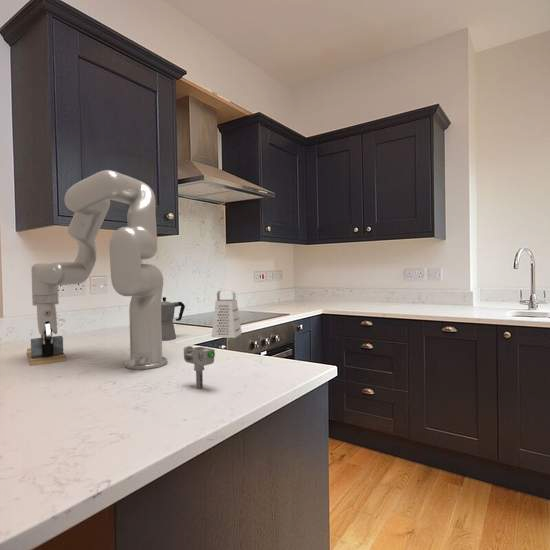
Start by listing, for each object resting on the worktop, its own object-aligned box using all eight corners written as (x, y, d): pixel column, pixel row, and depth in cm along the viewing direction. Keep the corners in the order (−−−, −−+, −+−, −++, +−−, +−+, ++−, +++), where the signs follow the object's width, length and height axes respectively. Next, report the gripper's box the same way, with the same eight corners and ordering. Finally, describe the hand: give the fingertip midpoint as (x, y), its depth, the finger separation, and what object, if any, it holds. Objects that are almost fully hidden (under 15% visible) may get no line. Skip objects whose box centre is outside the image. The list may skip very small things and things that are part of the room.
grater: (234, 337, 165) (233, 291, 165) (211, 337, 167) (210, 291, 167) (241, 333, 176) (240, 289, 175) (219, 333, 178) (218, 290, 177)
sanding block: (61, 352, 133) (61, 335, 133) (63, 355, 130) (62, 337, 130) (31, 356, 128) (30, 338, 128) (31, 359, 125) (31, 340, 125)
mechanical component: (191, 382, 101) (190, 344, 101) (217, 390, 94) (217, 349, 94) (182, 385, 99) (181, 346, 98) (208, 393, 92) (207, 351, 92)
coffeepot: (151, 342, 158) (150, 298, 158) (147, 338, 167) (146, 297, 166) (188, 338, 165) (187, 296, 165) (182, 335, 174) (181, 295, 173)
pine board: (66, 360, 128) (66, 356, 128) (30, 365, 123) (30, 360, 123) (58, 348, 148) (57, 345, 148) (27, 352, 142) (27, 348, 142)
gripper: (61, 301, 124) (63, 357, 125) (55, 298, 138) (57, 349, 138) (34, 302, 120) (36, 361, 120) (30, 299, 133) (32, 352, 134)
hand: (47, 354), depth 129 cm, fingers closed on sanding block, 4 cm apart
